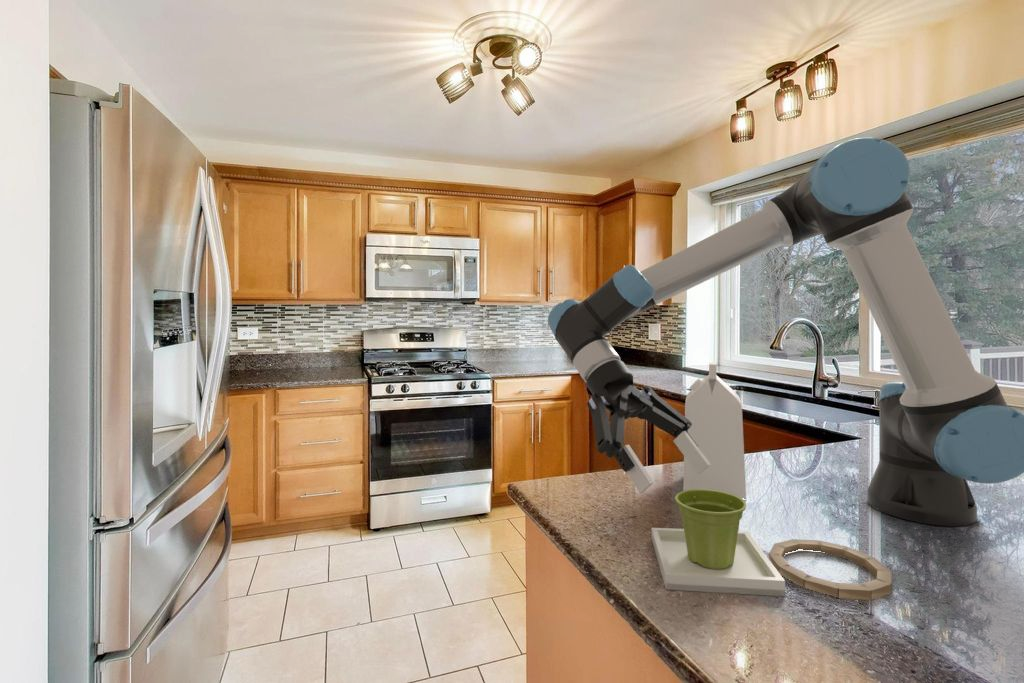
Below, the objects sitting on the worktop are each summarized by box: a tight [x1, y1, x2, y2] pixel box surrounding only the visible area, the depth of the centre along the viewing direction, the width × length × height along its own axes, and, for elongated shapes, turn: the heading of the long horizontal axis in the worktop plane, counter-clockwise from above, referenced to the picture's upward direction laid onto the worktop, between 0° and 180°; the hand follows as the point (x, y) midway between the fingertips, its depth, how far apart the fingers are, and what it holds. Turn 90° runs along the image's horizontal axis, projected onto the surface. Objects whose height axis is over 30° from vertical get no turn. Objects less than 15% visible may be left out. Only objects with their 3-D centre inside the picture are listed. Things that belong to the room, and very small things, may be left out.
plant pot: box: [674, 489, 747, 569], centre depth 70 cm, size 9×9×9 cm
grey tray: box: [651, 527, 786, 597], centre depth 71 cm, size 15×15×2 cm
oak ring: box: [768, 538, 893, 601], centre depth 68 cm, size 14×14×1 cm
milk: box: [682, 361, 747, 500], centre depth 102 cm, size 12×12×26 cm
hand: (677, 478), depth 74 cm, fingers open, 13 cm apart
